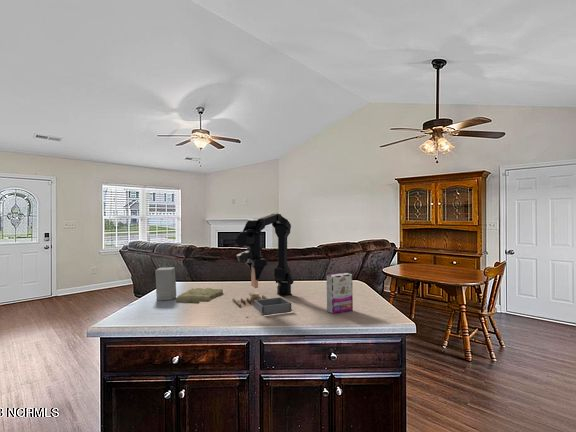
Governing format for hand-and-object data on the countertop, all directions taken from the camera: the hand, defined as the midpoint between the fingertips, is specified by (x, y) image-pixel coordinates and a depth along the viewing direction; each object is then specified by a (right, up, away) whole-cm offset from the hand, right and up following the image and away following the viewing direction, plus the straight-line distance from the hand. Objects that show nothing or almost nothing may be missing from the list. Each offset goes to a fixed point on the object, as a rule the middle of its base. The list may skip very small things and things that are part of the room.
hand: (254, 278), depth 151 cm
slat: (0, -4, 0) cm, 4 cm away
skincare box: (-47, -13, +14) cm, 50 cm away
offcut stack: (0, -13, +5) cm, 14 cm away
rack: (-2, -13, +4) cm, 14 cm away
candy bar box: (+39, -13, -7) cm, 41 cm away
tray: (+8, -13, -6) cm, 17 cm away
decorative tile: (-29, -14, +17) cm, 37 cm away
